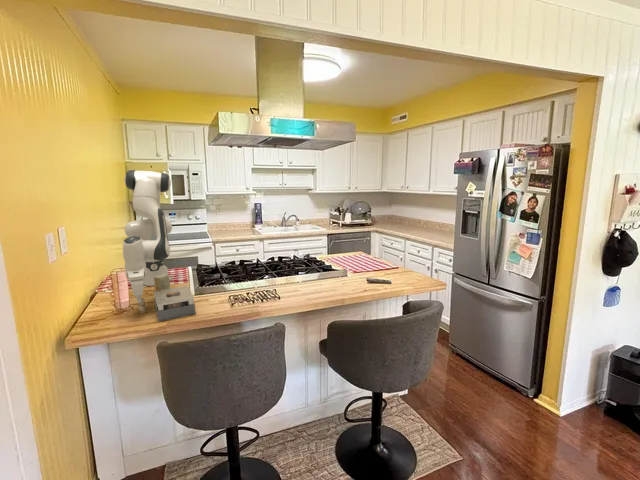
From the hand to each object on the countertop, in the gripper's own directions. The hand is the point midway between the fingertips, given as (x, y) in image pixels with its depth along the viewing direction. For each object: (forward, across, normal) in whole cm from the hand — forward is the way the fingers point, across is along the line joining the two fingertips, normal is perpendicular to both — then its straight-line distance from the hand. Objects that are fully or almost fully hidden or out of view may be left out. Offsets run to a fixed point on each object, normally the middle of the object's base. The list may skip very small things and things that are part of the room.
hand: (139, 298), depth 164 cm
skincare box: (+7, -15, +11) cm, 20 cm away
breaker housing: (+6, +7, +15) cm, 17 cm away
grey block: (+7, +1, +1) cm, 7 cm away
